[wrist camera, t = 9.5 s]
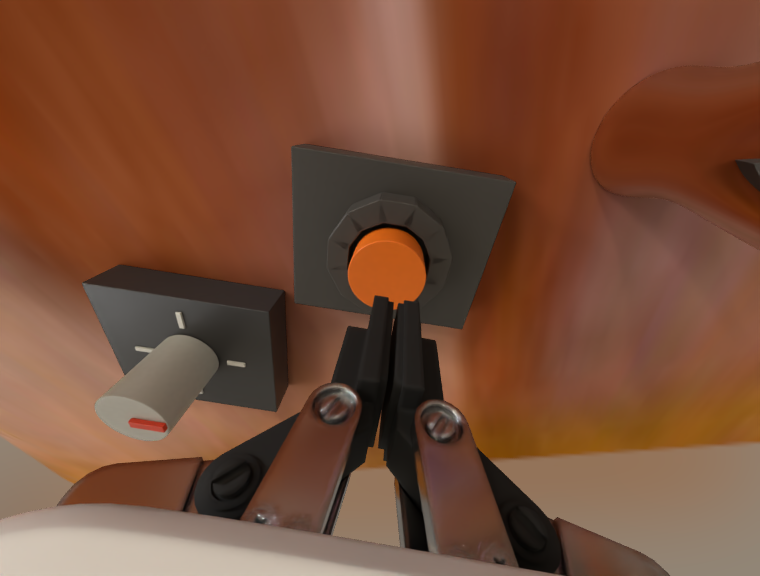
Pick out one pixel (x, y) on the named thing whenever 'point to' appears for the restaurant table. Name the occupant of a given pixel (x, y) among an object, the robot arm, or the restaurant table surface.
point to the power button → (387, 267)
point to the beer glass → (688, 144)
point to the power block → (392, 225)
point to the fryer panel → (199, 328)
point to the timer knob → (158, 389)
